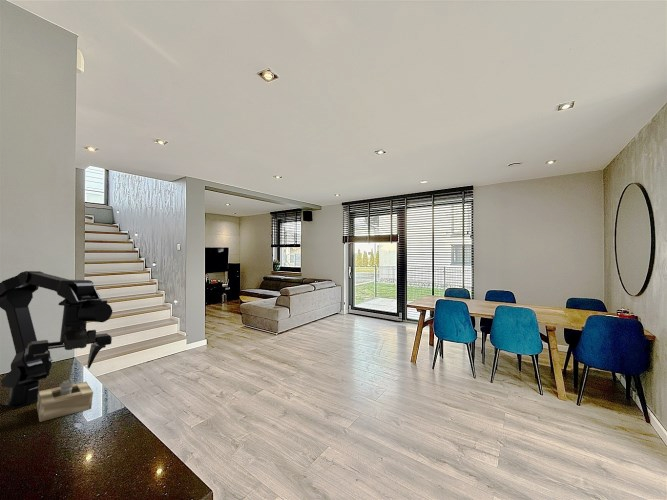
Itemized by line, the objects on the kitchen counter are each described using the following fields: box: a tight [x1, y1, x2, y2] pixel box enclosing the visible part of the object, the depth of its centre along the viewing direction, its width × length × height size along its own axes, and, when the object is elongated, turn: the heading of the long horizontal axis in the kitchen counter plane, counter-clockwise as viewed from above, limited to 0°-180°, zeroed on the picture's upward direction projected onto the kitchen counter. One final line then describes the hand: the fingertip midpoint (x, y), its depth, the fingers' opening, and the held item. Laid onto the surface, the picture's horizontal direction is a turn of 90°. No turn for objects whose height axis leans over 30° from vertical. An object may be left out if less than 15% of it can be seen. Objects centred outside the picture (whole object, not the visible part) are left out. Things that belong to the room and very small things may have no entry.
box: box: [36, 381, 94, 423], centre depth 85 cm, size 11×11×5 cm
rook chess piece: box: [59, 379, 75, 396], centre depth 86 cm, size 4×4×8 cm
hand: (68, 371), depth 86 cm, fingers open, 9 cm apart
